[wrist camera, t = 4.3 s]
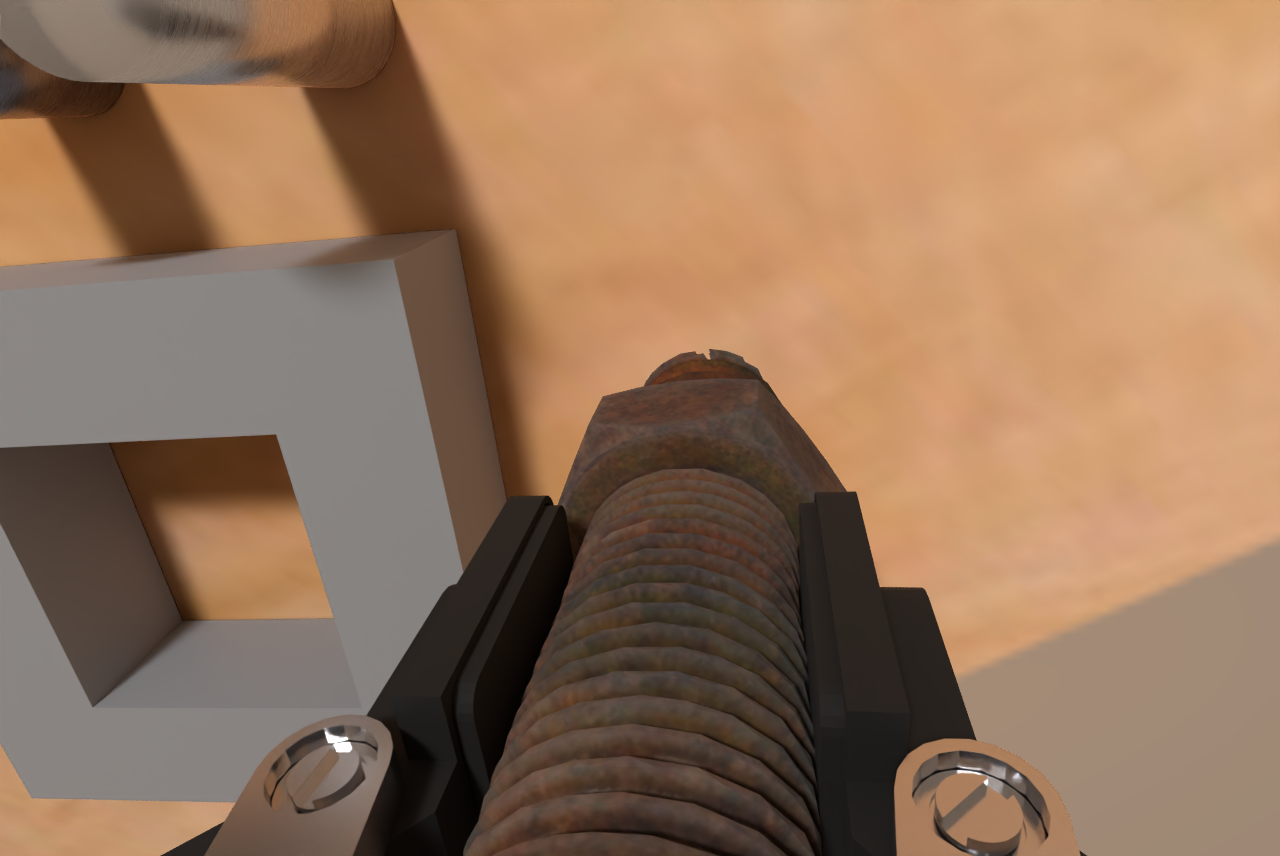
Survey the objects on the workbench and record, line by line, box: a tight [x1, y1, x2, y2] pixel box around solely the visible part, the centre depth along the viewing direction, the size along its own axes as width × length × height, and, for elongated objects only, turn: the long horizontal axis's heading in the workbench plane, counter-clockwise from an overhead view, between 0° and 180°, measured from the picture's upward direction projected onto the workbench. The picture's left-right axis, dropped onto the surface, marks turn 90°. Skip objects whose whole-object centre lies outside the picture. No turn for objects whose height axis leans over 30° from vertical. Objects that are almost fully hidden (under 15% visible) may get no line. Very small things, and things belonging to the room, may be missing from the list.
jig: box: [0, 229, 507, 802], centre depth 21 cm, size 16×16×4 cm
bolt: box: [463, 349, 847, 856], centre depth 9 cm, size 6×5×15 cm
